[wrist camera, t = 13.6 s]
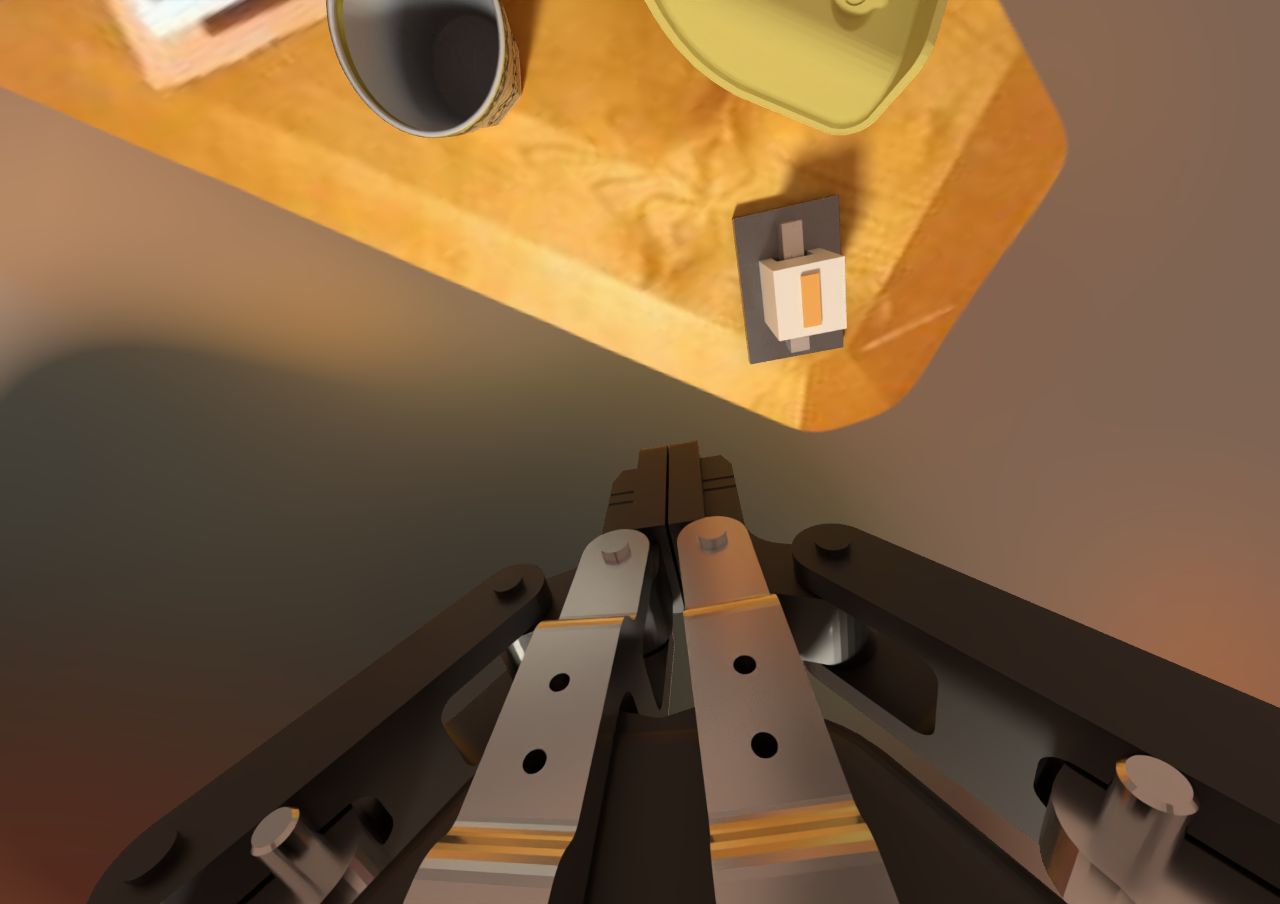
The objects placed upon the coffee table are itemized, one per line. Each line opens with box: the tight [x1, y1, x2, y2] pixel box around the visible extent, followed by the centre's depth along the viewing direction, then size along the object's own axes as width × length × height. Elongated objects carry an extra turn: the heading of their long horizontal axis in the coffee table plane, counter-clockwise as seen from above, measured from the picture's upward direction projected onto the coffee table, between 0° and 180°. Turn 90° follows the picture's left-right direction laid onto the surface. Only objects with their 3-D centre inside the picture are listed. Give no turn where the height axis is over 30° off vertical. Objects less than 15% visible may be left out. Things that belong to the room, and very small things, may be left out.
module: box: [759, 248, 847, 341], centre depth 38 cm, size 5×5×7 cm
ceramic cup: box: [326, 0, 522, 138], centre depth 31 cm, size 13×10×10 cm
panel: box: [732, 195, 843, 364], centre depth 40 cm, size 12×8×3 cm, turn 12°
